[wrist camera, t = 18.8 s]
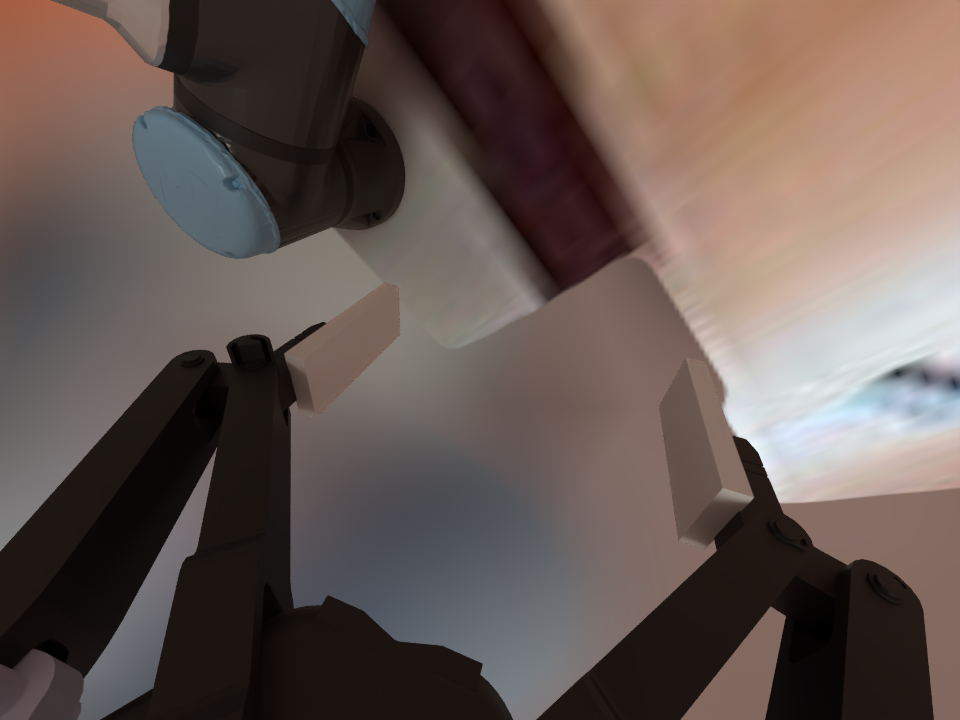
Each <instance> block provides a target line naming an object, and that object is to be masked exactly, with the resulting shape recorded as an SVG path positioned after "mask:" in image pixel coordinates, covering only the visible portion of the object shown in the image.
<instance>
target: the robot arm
mask: <svg viewBox="0 0 960 720" xmlns="http://www.w3.org/2000/svg"><path fill="white" fill-rule="evenodd" d="M52 1H55V2H58V3H60V4H63V5H65V6H68V7H71V8H74V9H76V10H79V11H82V12H85V13H87V14H90V15H92V16H95V17H98V18H101V19H103V20H105V21H106V22H107V23H109V24H110V25H111V26H113V27H114V28H115V29H116V30H117V32H118V33H119V34H121V36H122V37H123V38H124V39H125V40H126V41H127V43H128V44H129V45H130V46H131V47H132V48H133V49H134V50H135V52H136V53H137V54H138V55H139V56H140V57H141V58H142V59H143V60H144V62H145V63H147V64H149V65H151V66H154V67H158V68H161V69H164V70H167V71H170V72H173V73H174V105H173V107H172V108H168V107H165V106H157V107H154V108H152V109H151V110H149V111H146V112H145V114H144V115H141V116H139V117H137V120H136V121H135V123H134V126H133V133H132V141H133V148H134V152H135V156H136V159H137V162H138V165H139V168H140V170H141V172H142V174H143V177H144V178H145V180H146V182H147V185H148V186H149V188H150V190H151V191H152V193H153V195H154V196H155V198H156V199H157V200H158V201H159V203H160V204H161V205H162V207H163V208H164V210H165V211H166V212H167V214H168V215H169V216H170V217H171V218H172V219H173V221H174V222H175V223H176V224H177V225H178V226H179V227H180V228H181V229H182V230H183V231H184V232H185V233H186V234H188V235H189V236H190V237H191V238H193V239H194V240H195V241H196V242H198V243H199V244H201V245H202V246H204V247H206V248H207V249H209V250H211V251H213V252H215V253H217V254H220V255H222V256H226V257H229V258H236V259H238V258H249V257H252V256H255V255H259V254H262V253H272V252H274V251H276V249H278V248H281V247H283V246H286V245H289V244H291V243H293V242H296V241H298V240H301V239H303V238H306V237H308V236H311V235H313V234H316V233H318V232H321V231H323V230H326V229H329V228H331V227H336V228H344V229H352V230H363V229H368V228H371V227H374V226H376V225H379V224H381V223H383V222H384V221H386V220H387V219H389V218H390V217H391V216H392V215H393V213H394V212H395V211H396V209H397V207H398V206H399V204H400V201H401V198H402V195H403V191H404V182H405V173H404V164H403V159H402V155H401V151H400V148H399V145H398V143H397V140H396V138H395V136H394V134H393V132H392V131H391V129H390V127H389V126H388V125H387V123H386V122H385V120H384V119H383V118H382V117H381V116H380V115H379V114H378V113H377V112H376V111H375V110H374V109H373V108H372V107H370V106H369V105H368V104H366V103H364V102H363V101H361V100H359V99H356V98H353V97H351V94H352V91H353V87H354V84H355V80H356V77H357V73H358V70H359V66H360V63H361V59H362V56H363V52H364V49H365V47H366V48H368V45H369V39H368V32H369V28H370V24H371V20H372V16H373V12H374V7H375V3H376V0H52ZM399 320H400V319H399V286H395V285H391V284H387V283H384V284H382V285H381V286H379V287H378V288H376V289H375V290H374V291H372V292H371V293H369V294H368V295H367V296H365V297H364V298H362V299H361V300H360V301H358V302H357V303H355V304H354V305H352V306H351V307H350V308H348V309H347V310H345V311H344V312H343V313H341V314H340V315H338V316H337V317H335V318H334V319H333V320H331V321H330V322H328V323H325V322H322V323H319V324H316V325H313V326H311V327H309V328H308V329H306V330H305V331H303V332H302V334H299V335H298V336H296V337H295V338H294V339H291V340H290V341H288V342H287V343H285V344H284V345H283V346H281V347H280V348H278V349H277V350H276V351H274V352H273V348H272V345H271V341H270V339H269V338H268V337H266V336H264V335H258V334H255V335H246V336H241V337H239V338H236V339H234V340H232V341H231V342H229V344H228V345H227V347H226V348H227V351H228V353H229V356H230V359H231V362H232V363H219V362H217V360H216V358H215V356H214V354H213V353H212V352H210V351H207V350H192V351H189V352H184V353H182V354H180V355H178V356H176V357H175V358H173V359H172V360H171V361H170V362H169V363H168V364H167V365H166V366H165V368H164V369H163V370H162V371H161V372H160V373H159V374H158V376H157V377H156V378H155V379H154V380H153V381H152V382H151V383H150V384H149V385H148V387H147V388H146V389H145V390H144V391H143V392H142V393H141V395H140V396H139V397H138V398H137V399H136V400H135V401H134V402H133V403H132V405H131V406H130V407H129V408H128V409H127V410H126V411H125V412H124V414H123V415H122V416H121V417H120V418H119V419H118V420H117V421H116V423H115V424H114V425H113V426H112V427H111V428H110V429H109V430H108V431H107V433H106V434H105V435H104V436H103V437H102V438H101V439H100V440H99V442H98V443H97V444H96V445H95V446H94V447H93V448H92V449H91V450H90V452H89V453H88V454H87V455H86V456H85V457H84V458H83V460H82V461H81V462H80V463H79V464H78V465H77V466H76V467H75V468H74V470H73V471H72V472H71V473H70V474H69V475H68V476H67V477H66V478H65V480H64V481H63V482H62V483H61V484H60V485H59V486H58V487H57V489H56V490H55V491H54V492H53V493H52V494H51V495H50V497H49V498H48V499H47V500H46V501H45V502H44V503H43V504H42V505H41V507H40V508H39V509H38V510H37V511H36V512H35V513H34V515H32V517H31V518H30V519H29V520H28V521H27V522H26V523H25V524H24V526H23V527H22V528H21V529H20V530H19V531H18V532H17V534H16V535H15V536H14V537H13V538H12V539H11V540H10V541H9V542H8V543H7V545H6V546H5V547H4V548H3V549H2V550H1V551H0V720H77V719H78V717H79V715H80V712H81V703H80V702H79V700H80V697H81V695H82V692H83V685H84V680H83V679H84V678H85V676H86V675H87V674H88V672H89V671H90V669H91V668H92V667H93V665H94V664H95V662H96V661H97V660H98V658H99V657H100V655H101V654H102V652H103V651H104V649H105V648H106V647H107V645H108V643H109V642H110V640H111V639H112V637H113V635H114V634H115V632H116V630H117V629H118V627H119V625H120V624H121V622H122V620H123V619H124V616H125V615H126V613H127V611H128V609H129V607H130V606H131V604H132V602H133V600H134V598H135V596H136V595H137V593H138V591H139V589H140V587H141V586H142V584H143V582H144V580H145V578H146V576H147V574H148V573H149V571H150V569H151V567H152V565H153V564H154V562H155V560H156V558H157V556H158V554H159V552H160V551H161V549H162V547H163V545H164V543H165V542H166V540H167V538H168V536H169V534H170V532H171V531H172V529H173V527H174V525H175V523H176V521H177V520H178V518H179V516H180V514H181V512H182V510H183V509H184V507H185V505H186V503H187V501H188V499H189V498H190V496H191V494H192V492H193V490H194V488H195V486H196V484H197V483H198V481H199V479H200V477H201V476H202V474H203V472H204V470H205V468H206V466H207V465H208V463H209V461H210V459H211V457H212V455H213V454H214V452H215V450H216V448H217V452H216V457H215V462H214V467H213V472H212V477H211V482H210V488H209V492H208V497H207V502H206V508H205V512H204V518H203V522H202V527H201V533H200V537H199V542H198V547H197V550H196V552H195V554H194V555H192V556H189V557H187V558H186V559H185V560H184V562H183V564H182V567H181V569H180V572H179V577H178V581H177V585H176V590H175V594H174V599H173V603H172V608H171V612H170V617H169V621H168V626H167V630H166V635H165V639H164V643H163V648H162V652H161V657H160V661H159V665H158V670H157V675H156V679H155V683H154V688H153V689H151V690H149V691H148V692H146V693H145V694H143V695H141V696H140V697H138V698H136V699H134V700H133V701H131V702H130V703H128V704H126V705H124V706H123V707H121V708H120V709H118V710H116V711H114V712H113V713H111V714H109V715H107V716H106V717H104V718H102V719H101V720H513V719H512V716H511V714H510V712H509V711H508V709H507V707H506V705H505V703H504V702H503V700H502V699H501V697H500V696H499V694H498V693H497V691H496V690H495V689H494V688H493V687H492V685H491V684H490V683H489V682H488V681H487V680H486V679H485V678H483V677H482V676H481V675H480V673H481V669H482V665H483V664H482V663H480V662H478V661H475V660H473V659H471V658H469V657H466V656H464V655H462V654H460V653H457V652H455V651H453V650H451V649H448V648H446V647H444V646H438V645H428V644H418V643H407V642H399V641H396V640H394V639H393V638H392V637H391V636H390V635H389V634H388V633H387V632H386V631H384V630H383V629H382V628H381V627H380V626H379V625H378V624H377V623H376V622H375V621H374V620H373V619H371V618H370V617H369V616H368V615H367V614H366V613H365V612H364V611H362V610H360V609H358V608H356V607H353V606H351V605H349V604H347V603H344V602H342V601H340V600H338V599H335V598H333V597H331V596H329V595H328V596H327V597H326V599H325V601H324V602H323V604H322V605H316V606H305V607H300V608H295V609H294V605H293V598H292V592H291V584H290V491H291V490H290V489H291V485H290V484H291V483H290V482H291V479H290V478H291V476H290V475H291V471H290V470H291V464H290V462H291V413H290V410H289V407H290V406H291V405H292V404H293V403H294V402H295V401H296V402H297V406H298V410H299V412H300V413H303V414H306V415H309V416H312V417H315V418H317V416H319V415H320V414H321V413H322V412H323V411H324V410H325V409H326V408H327V407H328V406H329V405H330V404H331V403H332V402H333V401H334V400H335V399H336V398H337V397H338V396H339V395H340V394H341V393H342V392H343V391H344V390H345V389H346V388H347V387H348V386H349V385H350V384H351V383H352V382H353V381H354V380H355V379H356V378H357V377H358V376H359V375H360V374H361V373H362V372H363V371H364V370H365V369H366V368H367V367H368V366H369V365H370V364H371V363H372V362H373V361H374V360H375V359H376V358H377V357H378V356H379V355H380V354H381V353H382V352H383V351H384V350H385V349H386V348H387V347H388V346H389V345H390V344H391V343H392V342H393V341H394V340H395V339H396V338H397V337H398V336H399V335H400V321H399ZM659 409H660V416H661V422H662V430H663V437H664V443H665V450H666V458H667V464H668V472H669V478H670V485H671V492H672V499H673V506H674V513H675V520H676V527H677V534H678V540H679V541H681V542H684V543H687V544H690V545H693V546H696V547H699V548H701V549H705V548H706V547H707V546H708V545H709V544H710V543H711V542H712V541H713V540H715V544H716V549H717V551H716V552H715V553H714V554H713V555H712V556H711V557H710V558H709V559H708V560H707V561H706V562H705V563H703V564H702V565H701V566H700V567H699V568H698V569H697V570H696V571H695V572H694V573H693V574H692V575H691V576H690V577H689V578H688V579H686V581H684V582H683V583H682V584H681V585H680V586H679V587H678V588H677V589H676V590H675V591H674V592H673V593H672V594H671V595H670V596H668V598H666V599H665V600H664V601H663V602H662V603H661V604H660V605H659V606H658V607H657V608H656V609H655V610H653V611H652V612H651V614H649V615H648V616H647V617H646V618H645V619H644V620H643V621H642V622H641V623H640V624H639V625H638V626H637V627H635V628H634V629H633V630H632V631H631V632H630V633H629V634H628V635H627V636H626V637H625V638H624V639H623V640H622V641H621V642H620V643H618V644H617V645H616V646H615V647H614V648H613V649H612V650H611V651H610V652H609V653H608V654H607V655H606V656H605V657H604V658H603V659H602V660H600V661H599V662H598V663H597V664H596V665H595V666H594V667H593V668H592V669H591V670H590V671H589V672H587V673H586V674H585V675H584V676H582V677H581V678H580V679H579V680H578V681H577V682H576V683H575V684H574V685H573V686H572V687H571V688H570V689H568V690H567V691H566V693H564V694H563V695H562V696H561V697H560V698H559V699H558V700H557V701H556V702H555V703H554V704H553V705H551V707H549V708H548V709H547V710H546V711H545V712H544V713H543V714H542V715H541V716H540V717H539V718H538V719H537V720H681V718H682V717H683V716H684V715H685V713H686V712H687V711H688V709H689V708H690V707H691V706H692V704H693V703H694V702H695V700H696V699H697V698H698V697H699V696H700V694H701V693H702V692H703V691H704V689H705V688H706V687H707V686H708V684H709V683H710V682H711V681H712V679H713V678H714V677H715V676H716V674H717V673H718V672H719V670H720V669H721V668H722V667H723V665H724V664H725V663H726V662H727V660H728V659H729V658H730V657H731V655H732V654H733V653H734V652H735V650H736V649H737V648H738V647H739V645H740V644H741V643H742V642H743V640H744V639H745V638H746V637H747V635H748V634H749V633H750V632H751V630H752V629H753V628H754V627H755V625H756V624H757V623H758V621H759V620H760V619H761V618H762V617H763V615H764V614H765V613H766V611H767V610H768V609H769V608H770V606H771V607H773V608H774V609H776V610H777V611H779V612H781V613H782V614H784V615H785V616H786V619H785V624H784V629H783V634H782V639H781V644H780V649H779V654H778V659H777V664H776V669H775V674H774V679H773V683H772V688H771V694H770V698H769V704H768V709H767V713H766V718H765V720H934V717H933V706H932V696H931V687H930V675H929V665H928V655H927V644H926V634H925V624H924V613H923V608H922V606H921V603H920V600H919V599H918V598H917V596H916V595H915V593H914V592H913V591H912V589H911V588H910V587H909V586H908V585H907V584H906V583H905V582H904V581H903V580H902V579H901V578H899V577H898V576H897V575H895V574H894V573H893V572H891V571H890V570H888V569H887V568H885V567H883V566H881V565H879V564H877V563H875V562H873V561H869V560H864V559H861V560H856V561H853V562H852V563H850V564H849V565H846V564H844V563H842V562H841V561H839V560H837V559H835V558H833V557H831V556H830V555H828V554H826V553H824V552H822V551H820V550H818V549H817V548H815V547H814V546H813V544H812V541H811V538H810V537H809V536H808V534H807V533H806V531H805V530H804V529H803V528H802V527H801V526H800V525H799V524H798V523H797V522H795V521H794V520H793V519H791V518H789V517H788V516H786V515H785V514H784V513H783V511H782V509H781V506H780V504H779V502H778V499H777V497H776V494H775V492H774V490H773V487H772V485H771V483H770V480H769V478H767V476H768V475H767V473H766V471H765V468H764V467H763V464H762V461H761V459H760V456H759V454H758V452H757V451H756V450H755V449H754V447H753V446H752V445H751V444H750V443H749V442H748V441H747V440H746V439H743V438H739V437H736V436H732V435H731V433H730V429H729V427H728V424H727V421H726V418H725V415H724V413H723V410H722V407H721V404H720V402H719V399H718V396H717V393H716V390H715V388H714V385H713V382H712V379H711V377H710V374H709V371H708V368H707V366H706V363H705V362H702V361H698V360H694V359H690V358H685V359H684V361H683V363H682V365H681V367H680V369H679V370H678V372H677V374H676V376H675V378H674V380H673V381H672V383H671V385H670V387H669V389H668V391H667V392H666V394H665V396H664V398H663V400H662V402H661V403H660V405H659ZM217 446H218V447H217Z"/></svg>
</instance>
